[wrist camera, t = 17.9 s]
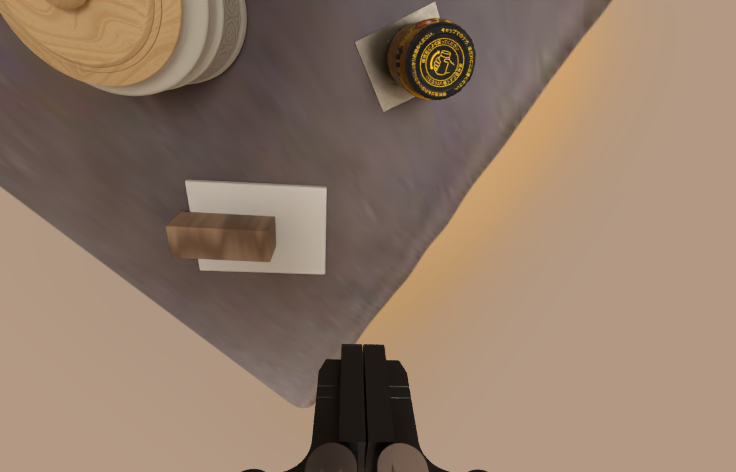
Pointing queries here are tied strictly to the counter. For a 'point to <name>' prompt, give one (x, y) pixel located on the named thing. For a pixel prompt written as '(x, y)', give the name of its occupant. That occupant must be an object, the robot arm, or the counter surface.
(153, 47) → the jar
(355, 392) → the robot arm
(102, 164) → the counter surface
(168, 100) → the counter surface
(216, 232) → the block
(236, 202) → the mat
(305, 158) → the counter surface
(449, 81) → the condiment
